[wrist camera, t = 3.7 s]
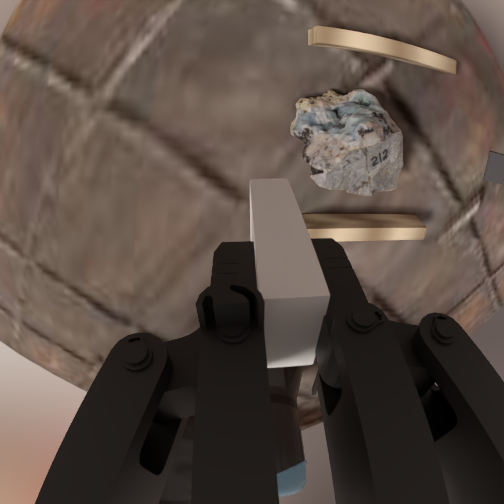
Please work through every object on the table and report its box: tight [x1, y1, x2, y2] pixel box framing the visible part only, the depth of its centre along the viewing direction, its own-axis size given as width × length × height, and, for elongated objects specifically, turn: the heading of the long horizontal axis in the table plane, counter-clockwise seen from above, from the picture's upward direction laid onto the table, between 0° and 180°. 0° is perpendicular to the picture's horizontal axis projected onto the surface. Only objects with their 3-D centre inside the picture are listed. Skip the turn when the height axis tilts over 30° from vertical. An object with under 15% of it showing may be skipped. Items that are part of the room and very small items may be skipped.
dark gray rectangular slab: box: [483, 151, 504, 184], centre depth 26 cm, size 5×4×1 cm
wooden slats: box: [301, 26, 456, 241], centre depth 24 cm, size 14×20×3 cm
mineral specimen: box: [290, 89, 403, 196], centre depth 23 cm, size 10×8×10 cm
